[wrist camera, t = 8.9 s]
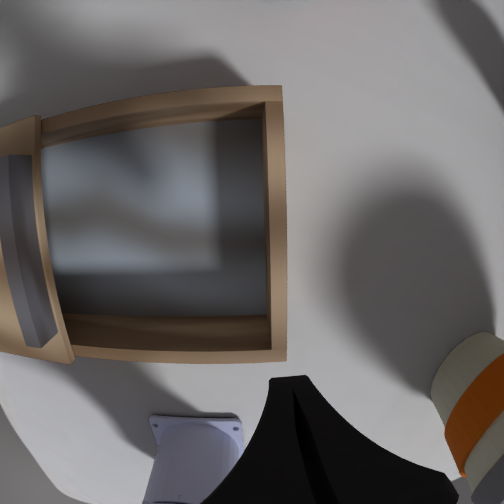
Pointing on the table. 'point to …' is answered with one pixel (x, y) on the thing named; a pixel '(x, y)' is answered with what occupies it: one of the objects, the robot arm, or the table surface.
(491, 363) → the reusable coffee cup
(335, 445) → the robot arm
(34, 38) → the table surface
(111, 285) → the box
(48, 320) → the lid
